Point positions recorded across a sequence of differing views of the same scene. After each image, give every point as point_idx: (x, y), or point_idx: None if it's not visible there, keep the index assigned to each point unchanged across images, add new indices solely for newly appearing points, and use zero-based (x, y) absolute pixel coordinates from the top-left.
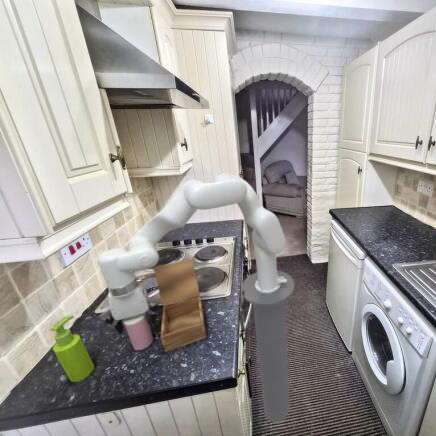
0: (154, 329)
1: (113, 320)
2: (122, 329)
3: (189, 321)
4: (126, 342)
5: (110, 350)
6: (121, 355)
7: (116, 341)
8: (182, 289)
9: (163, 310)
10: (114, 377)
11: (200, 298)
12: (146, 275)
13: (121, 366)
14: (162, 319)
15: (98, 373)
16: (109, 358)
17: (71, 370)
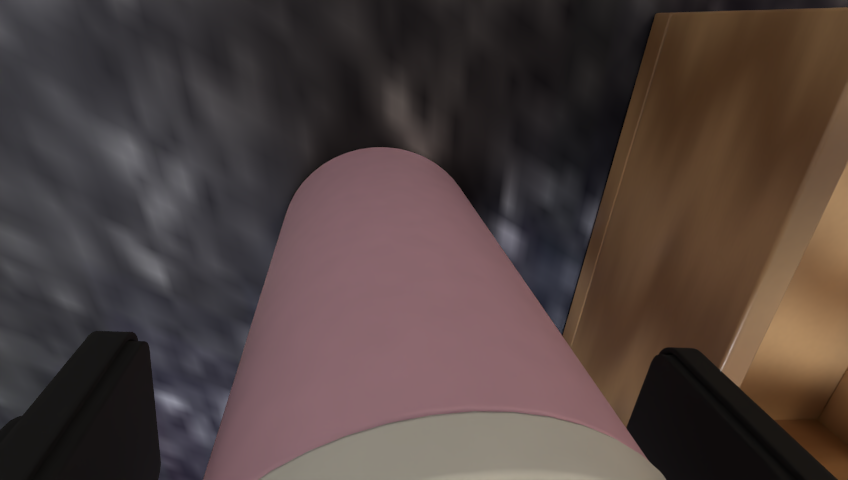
0: (498, 95)
1: None
2: (143, 434)
3: (828, 217)
4: (192, 137)
5: (24, 170)
6: (183, 299)
7: (46, 42)
8: None
9: (837, 131)
10: (184, 477)
11: None
12: None
13: (215, 410)
14: (734, 345)
15: (22, 401)
16: (62, 281)
17: None
